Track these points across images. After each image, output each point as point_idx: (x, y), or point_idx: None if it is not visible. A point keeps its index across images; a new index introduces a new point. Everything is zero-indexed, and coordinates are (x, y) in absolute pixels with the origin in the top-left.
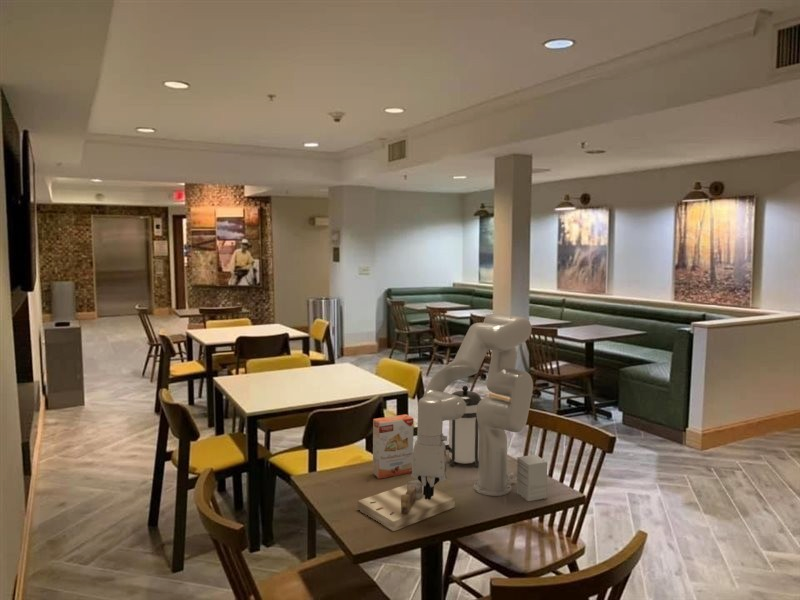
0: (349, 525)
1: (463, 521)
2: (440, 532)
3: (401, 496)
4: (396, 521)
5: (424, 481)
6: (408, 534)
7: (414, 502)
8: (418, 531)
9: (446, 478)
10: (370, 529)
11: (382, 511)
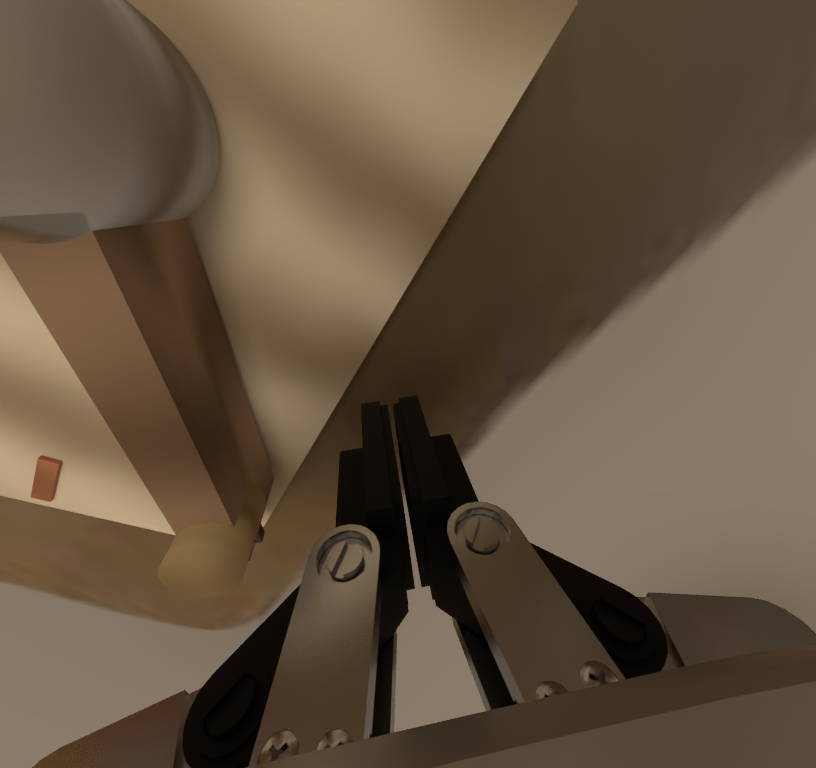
0: (20, 539)
1: (590, 287)
2: (476, 438)
3: (178, 593)
4: None
5: (376, 689)
6: None
7: (213, 283)
8: None
9: (797, 627)
10: None
11: (97, 494)
